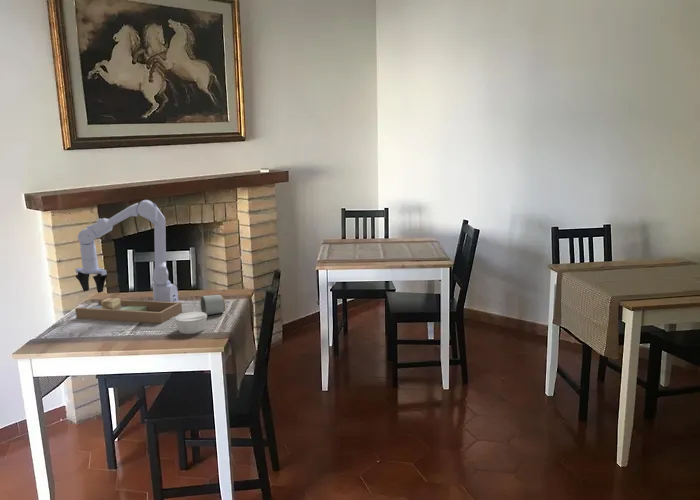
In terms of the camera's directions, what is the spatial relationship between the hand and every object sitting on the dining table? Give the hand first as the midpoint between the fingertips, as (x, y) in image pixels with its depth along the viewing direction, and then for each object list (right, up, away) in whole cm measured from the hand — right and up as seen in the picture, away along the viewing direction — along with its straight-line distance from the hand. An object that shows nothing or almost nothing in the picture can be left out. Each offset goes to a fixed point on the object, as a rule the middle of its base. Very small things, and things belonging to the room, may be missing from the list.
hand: (93, 291), depth 236 cm
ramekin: (+47, -12, -25) cm, 55 cm away
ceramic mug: (+49, -8, -5) cm, 50 cm away
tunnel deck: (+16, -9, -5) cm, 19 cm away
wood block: (+9, -7, -3) cm, 12 cm away
